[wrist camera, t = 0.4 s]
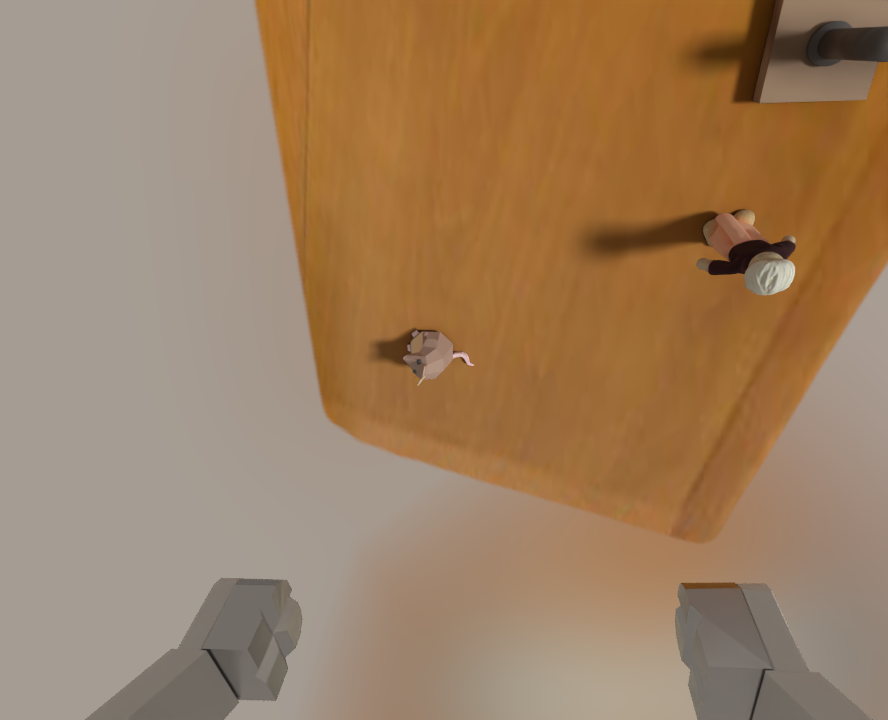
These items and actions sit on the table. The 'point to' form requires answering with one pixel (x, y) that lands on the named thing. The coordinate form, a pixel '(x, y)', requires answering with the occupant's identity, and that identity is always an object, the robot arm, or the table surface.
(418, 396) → the table surface
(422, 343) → the mouse figurine
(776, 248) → the grandmother figurine
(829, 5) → the post block
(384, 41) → the table surface
